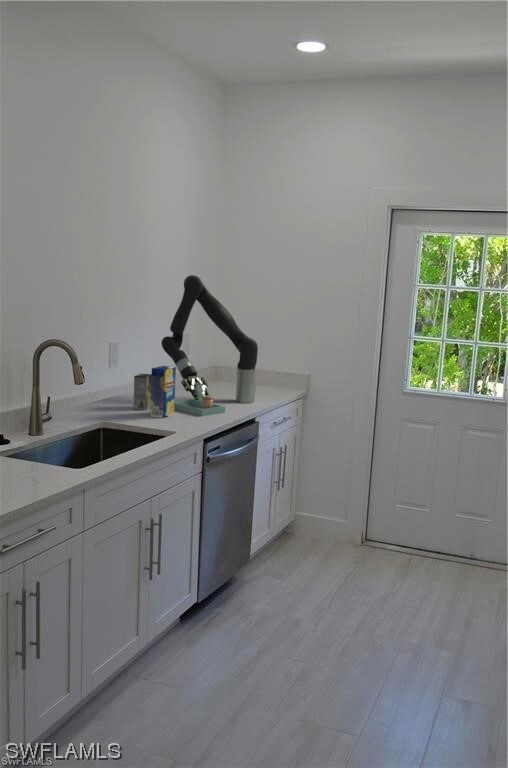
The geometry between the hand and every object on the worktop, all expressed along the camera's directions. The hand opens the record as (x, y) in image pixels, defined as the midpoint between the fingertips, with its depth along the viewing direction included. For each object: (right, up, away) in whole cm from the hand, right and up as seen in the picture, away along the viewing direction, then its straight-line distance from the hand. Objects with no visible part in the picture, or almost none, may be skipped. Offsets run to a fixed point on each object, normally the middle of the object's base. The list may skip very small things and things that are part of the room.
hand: (201, 396), depth 365 cm
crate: (-2, -7, -12) cm, 14 cm away
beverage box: (-17, -9, -23) cm, 30 cm away
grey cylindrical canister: (-1, -5, +2) cm, 6 cm away
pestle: (+3, -8, -16) cm, 18 cm away
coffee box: (-28, -6, -10) cm, 30 cm away
